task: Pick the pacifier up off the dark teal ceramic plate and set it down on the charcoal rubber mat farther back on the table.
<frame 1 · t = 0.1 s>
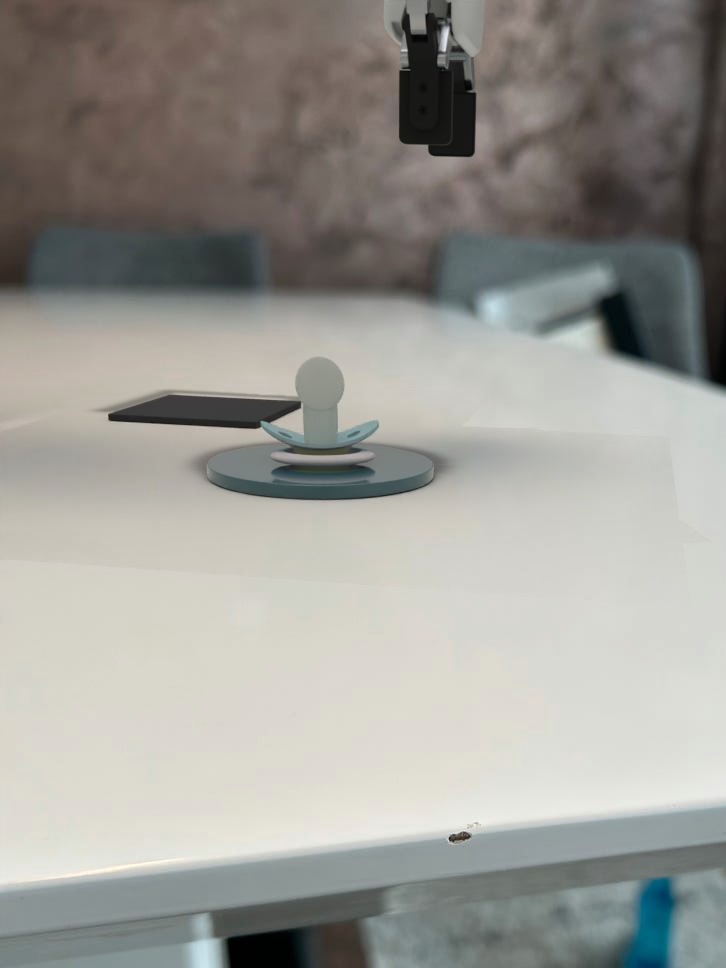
hand: (439, 150, 72), 19 cm above the table, tool pointing down, fingers open, 9 cm apart
mat: (209, 413, 91), on the table
plate: (322, 474, 69), on the table
pacifier: (322, 464, 69), point 1 cm above the table, touching plate
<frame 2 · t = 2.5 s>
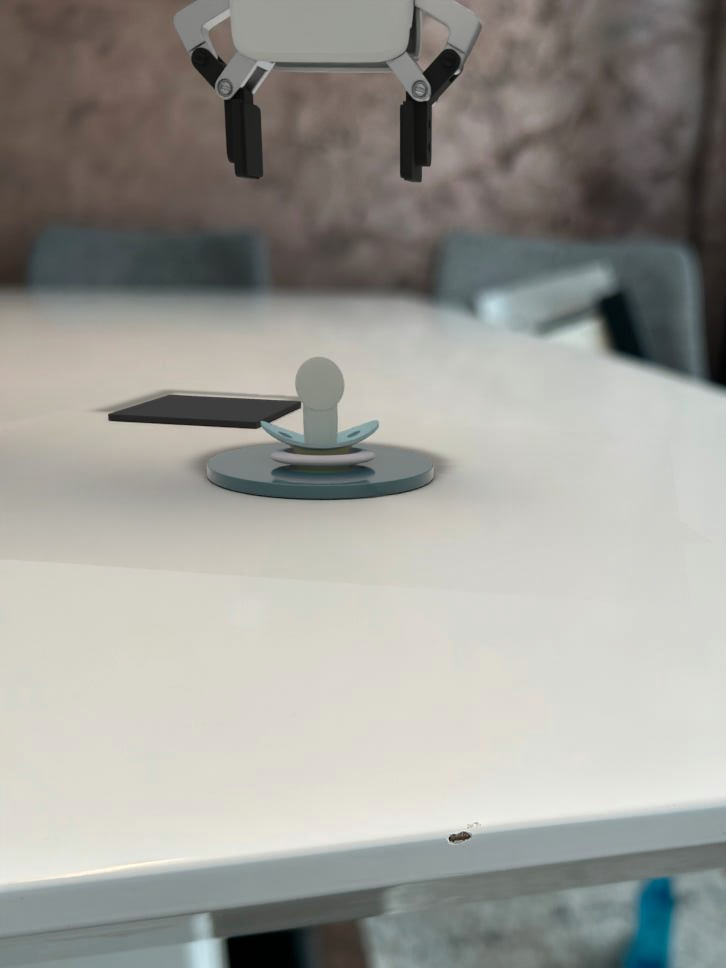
hand: (329, 179, 64), 17 cm above the table, tool pointing down, fingers open, 9 cm apart
nothing on the table moved.
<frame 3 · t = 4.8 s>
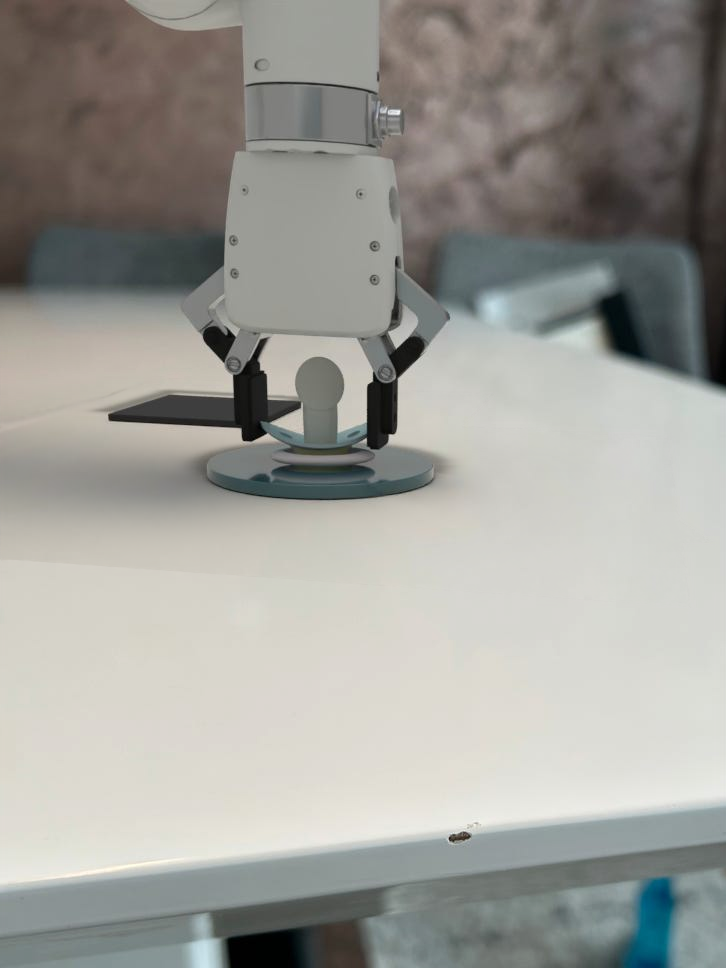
hand: (316, 440, 69), 2 cm above the table, tool pointing down, fingers closed on pacifier, 7 cm apart
pacifier: (322, 464, 69), point 1 cm above the table, touching gripper, plate
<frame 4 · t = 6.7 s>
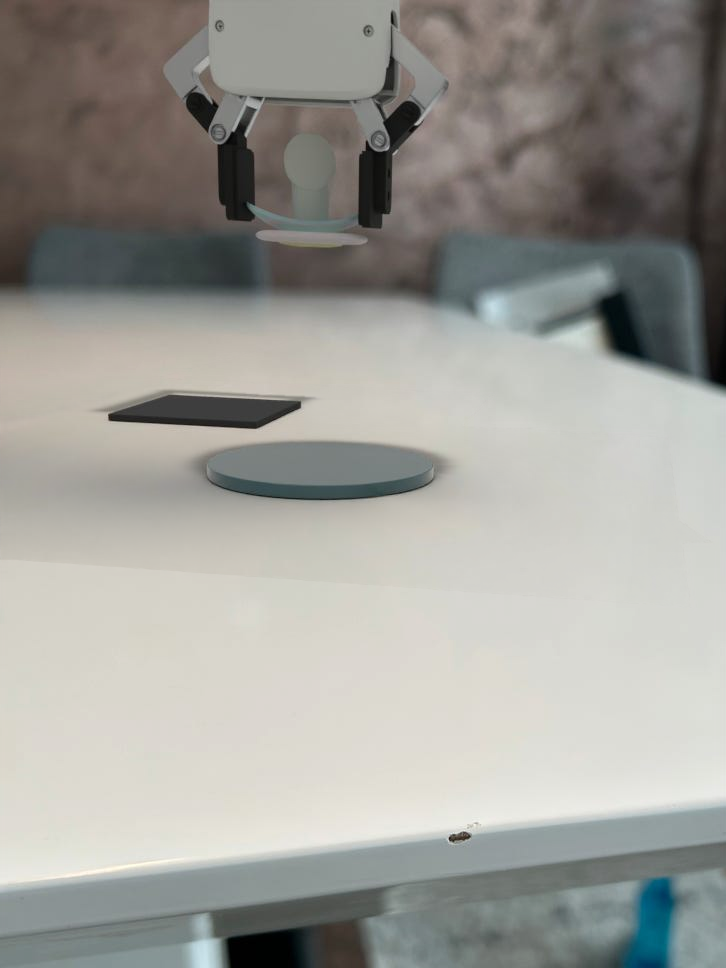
hand: (305, 222, 65), 15 cm above the table, tool pointing down, fingers closed on pacifier, 7 cm apart
pacifier: (311, 250, 65), point 13 cm above the table, touching gripper
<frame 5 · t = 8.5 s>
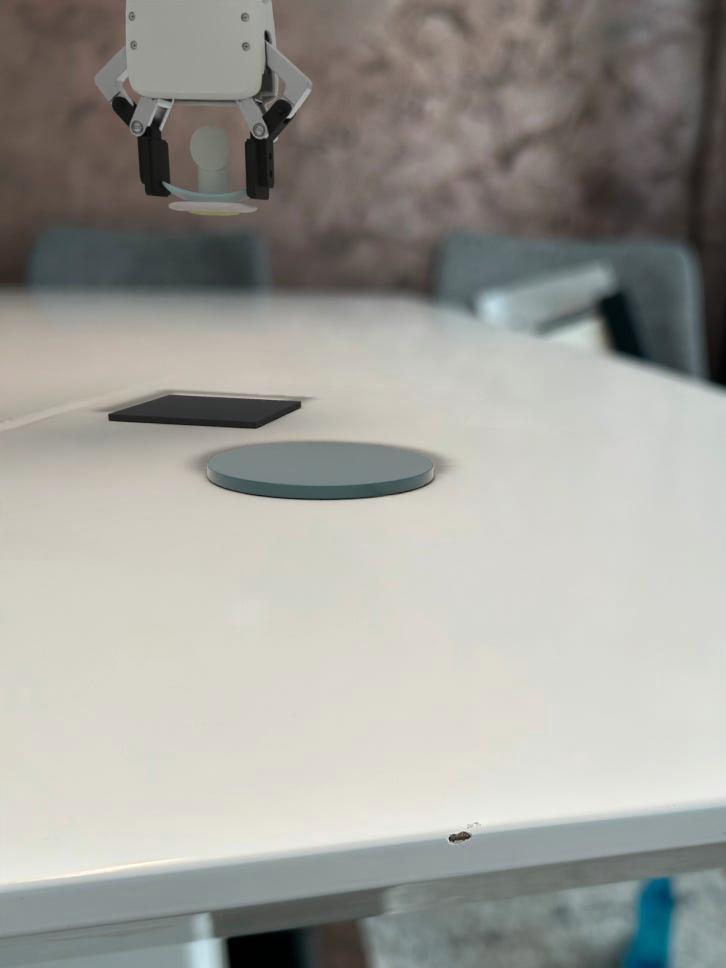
hand: (207, 195, 83), 17 cm above the table, tool pointing down, fingers closed on pacifier, 7 cm apart
pacifier: (213, 217, 83), point 15 cm above the table, touching gripper
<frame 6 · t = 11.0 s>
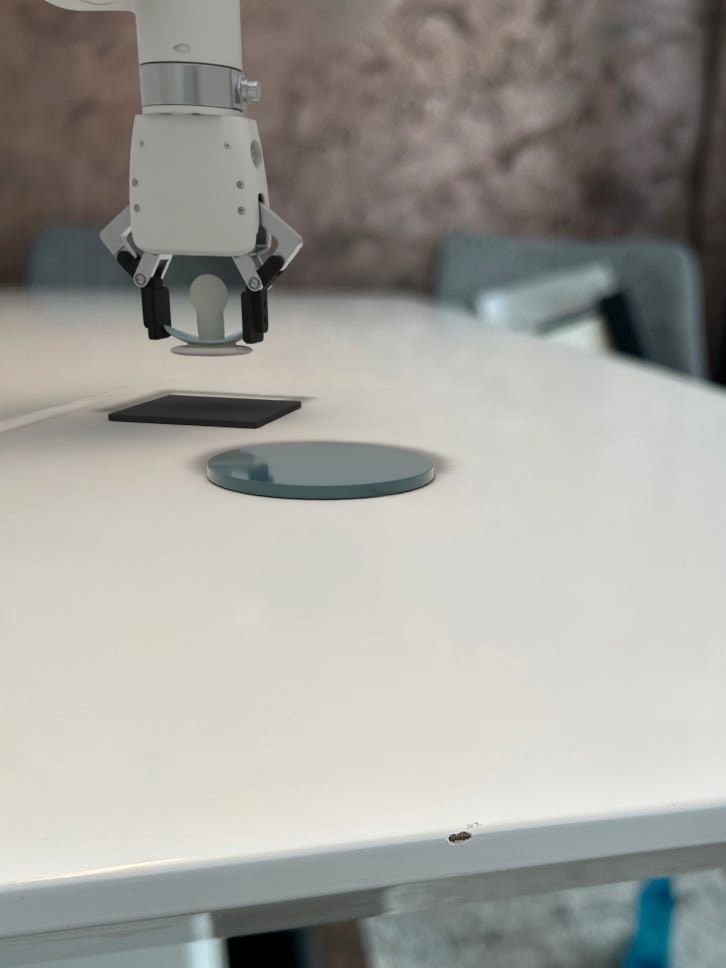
hand: (206, 338, 89), 6 cm above the table, tool pointing down, fingers closed on pacifier, 7 cm apart
pacifier: (212, 358, 90), point 4 cm above the table, touching gripper
when the fingers open (2 cm above the table, at t = 12.6 s): pacifier stays where it is, resting on mat.
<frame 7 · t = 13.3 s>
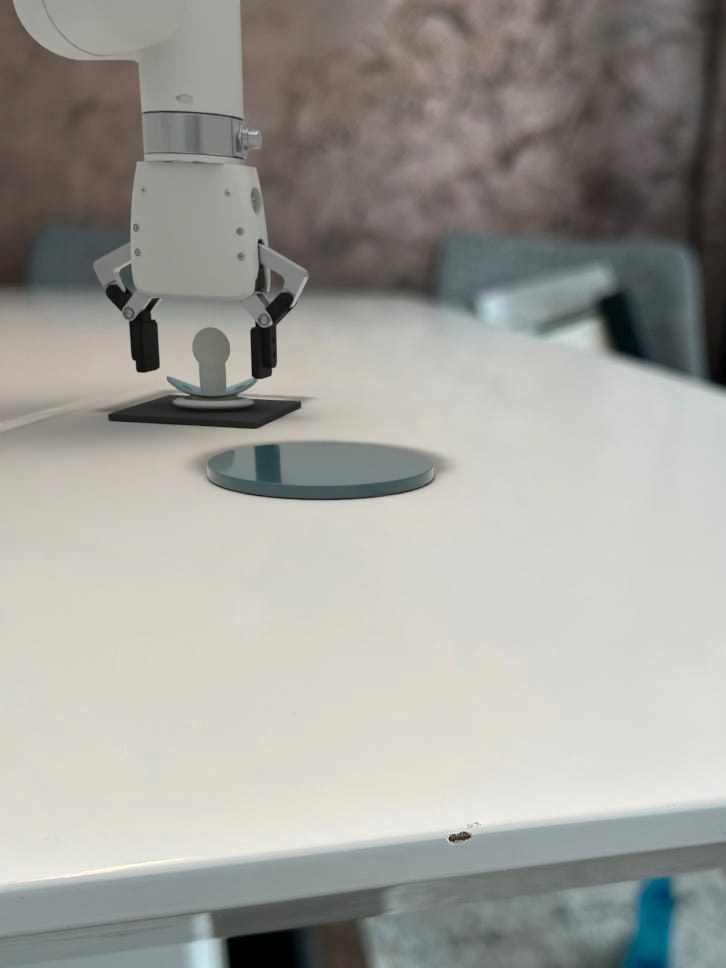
hand: (204, 374, 90), 3 cm above the table, tool pointing down, fingers open, 9 cm apart
pacifier: (213, 409, 91), resting on mat
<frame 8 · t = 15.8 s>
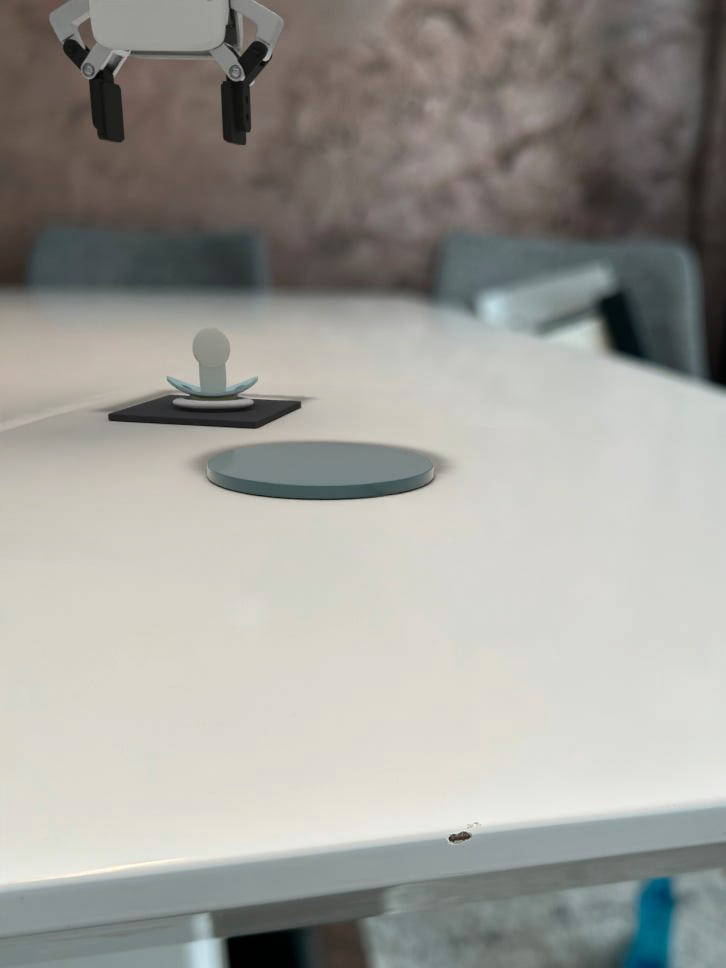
hand: (172, 142, 82), 20 cm above the table, tool pointing down, fingers open, 9 cm apart
nothing on the table moved.
at the end: pacifier inside the target area on the mat (0.3 cm from its centre), point 0.3 cm above the mat's base; pacifier touching mat; the gripper is holding nothing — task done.
